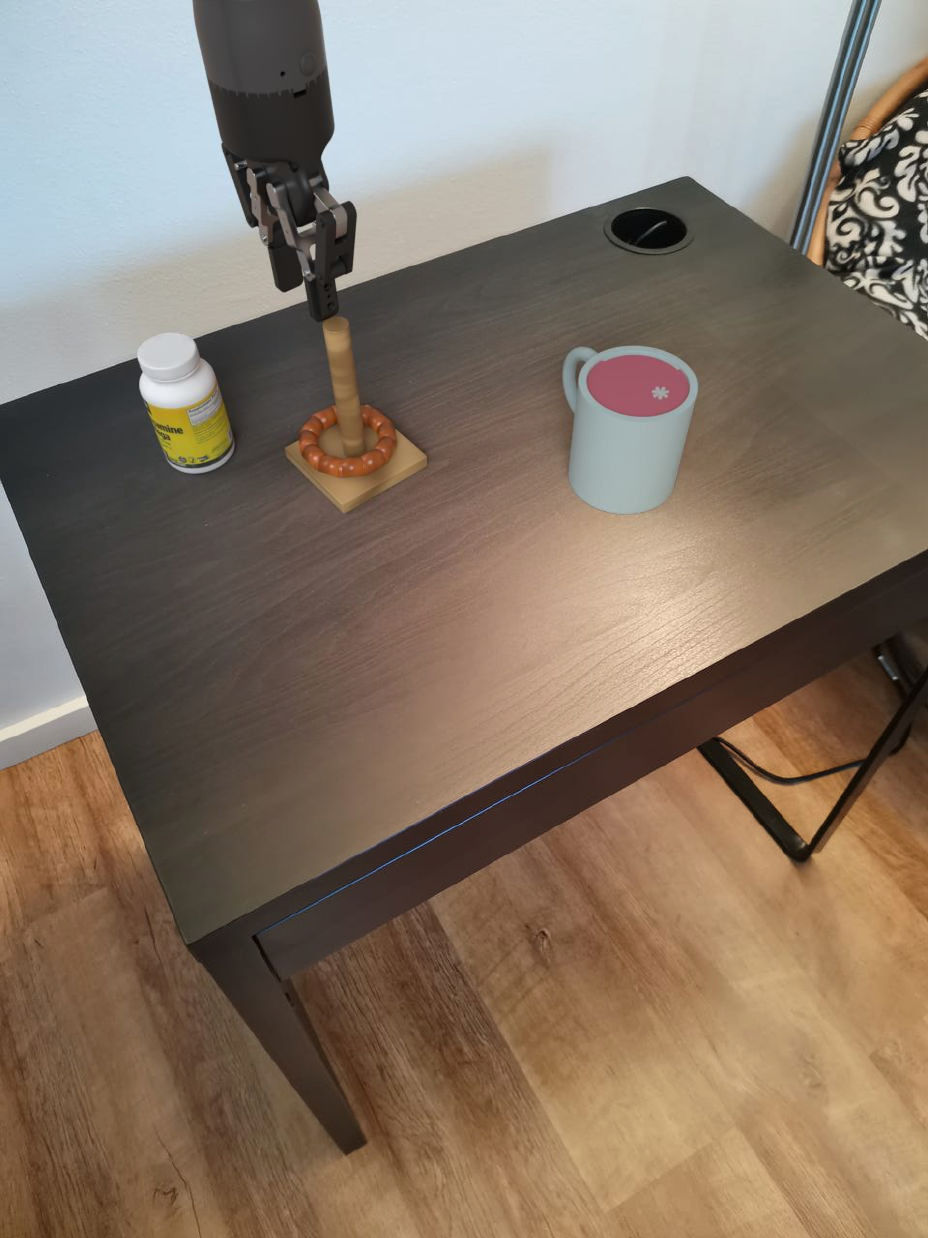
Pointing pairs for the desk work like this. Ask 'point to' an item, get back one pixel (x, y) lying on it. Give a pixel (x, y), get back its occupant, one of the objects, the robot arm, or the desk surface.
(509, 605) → the desk surface
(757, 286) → the desk surface
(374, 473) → the stand
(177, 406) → the pill bottle
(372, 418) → the ring
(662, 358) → the mug
